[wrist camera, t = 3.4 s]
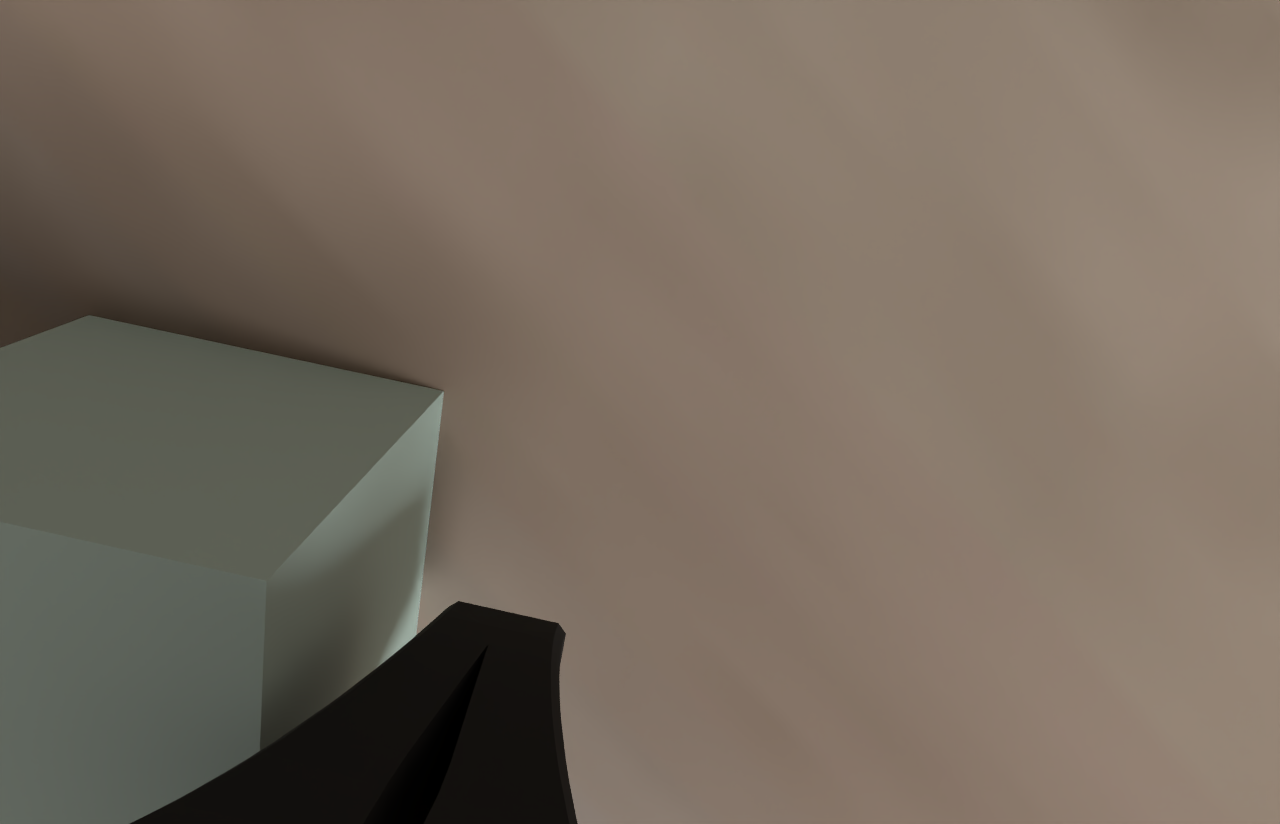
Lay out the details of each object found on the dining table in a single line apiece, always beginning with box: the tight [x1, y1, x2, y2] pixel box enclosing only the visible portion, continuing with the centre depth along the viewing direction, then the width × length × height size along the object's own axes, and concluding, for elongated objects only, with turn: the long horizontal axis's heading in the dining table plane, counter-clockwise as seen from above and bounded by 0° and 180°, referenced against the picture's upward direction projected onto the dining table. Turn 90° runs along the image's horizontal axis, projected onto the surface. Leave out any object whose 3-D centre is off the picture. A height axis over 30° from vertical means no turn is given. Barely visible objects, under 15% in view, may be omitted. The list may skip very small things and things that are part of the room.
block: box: [0, 315, 444, 824], centre depth 11 cm, size 5×5×5 cm
